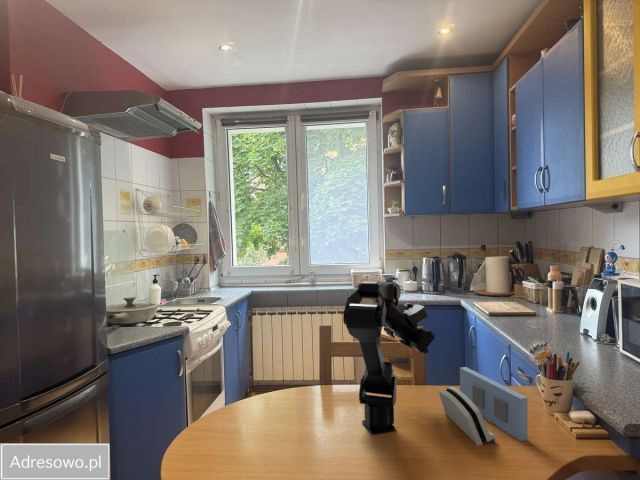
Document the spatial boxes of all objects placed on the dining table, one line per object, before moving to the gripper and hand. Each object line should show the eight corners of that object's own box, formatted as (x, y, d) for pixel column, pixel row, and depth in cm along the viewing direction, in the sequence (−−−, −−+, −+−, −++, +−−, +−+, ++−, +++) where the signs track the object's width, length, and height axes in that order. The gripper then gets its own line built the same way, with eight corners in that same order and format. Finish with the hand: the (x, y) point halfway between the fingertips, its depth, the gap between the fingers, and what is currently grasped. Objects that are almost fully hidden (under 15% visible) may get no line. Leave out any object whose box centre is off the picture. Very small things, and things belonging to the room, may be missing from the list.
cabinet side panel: (518, 441, 92) (518, 399, 91) (458, 402, 113) (458, 367, 112) (527, 439, 92) (527, 397, 92) (465, 401, 113) (465, 366, 113)
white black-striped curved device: (498, 443, 91) (484, 404, 90) (480, 452, 90) (466, 413, 89) (462, 411, 107) (450, 377, 107) (446, 418, 107) (434, 384, 106)
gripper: (428, 301, 105) (463, 338, 109) (394, 291, 123) (425, 324, 127) (402, 333, 103) (439, 370, 107) (371, 319, 121) (404, 351, 124)
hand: (426, 352), depth 116 cm, fingers closed
